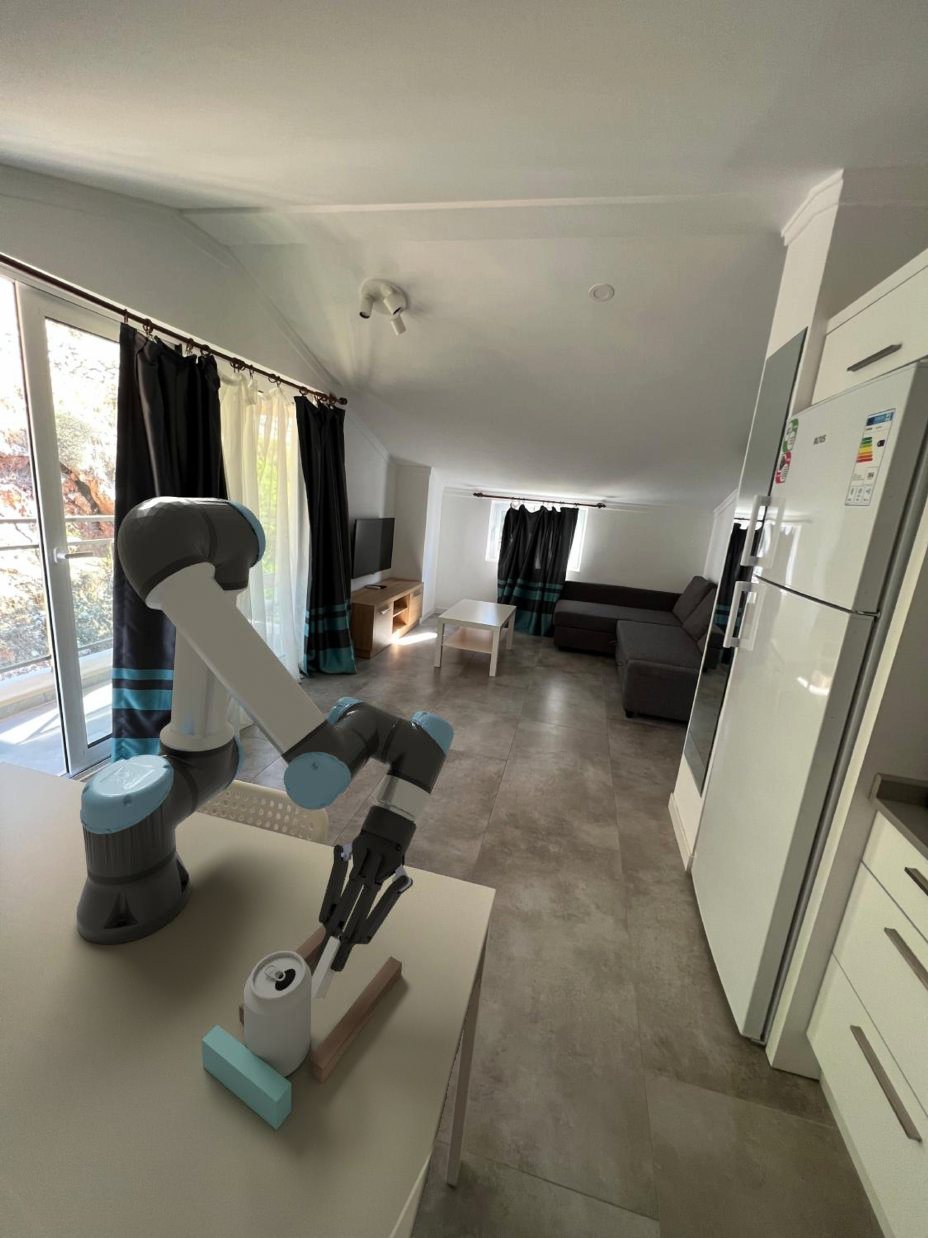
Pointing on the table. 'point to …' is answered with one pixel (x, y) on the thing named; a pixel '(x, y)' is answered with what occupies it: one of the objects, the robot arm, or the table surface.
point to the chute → (354, 1016)
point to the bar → (247, 1076)
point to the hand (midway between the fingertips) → (314, 995)
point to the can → (279, 1011)
